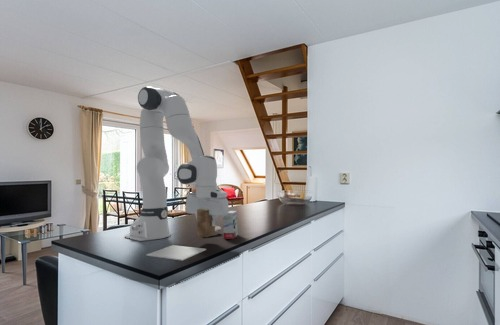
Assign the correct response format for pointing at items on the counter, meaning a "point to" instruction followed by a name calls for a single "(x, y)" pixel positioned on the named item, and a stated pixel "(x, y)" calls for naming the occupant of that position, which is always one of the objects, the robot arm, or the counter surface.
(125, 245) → the counter surface
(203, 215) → the walnut block
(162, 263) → the counter surface
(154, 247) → the counter surface
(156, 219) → the robot arm
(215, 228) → the fossil
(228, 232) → the ink box
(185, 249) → the mat
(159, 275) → the counter surface
